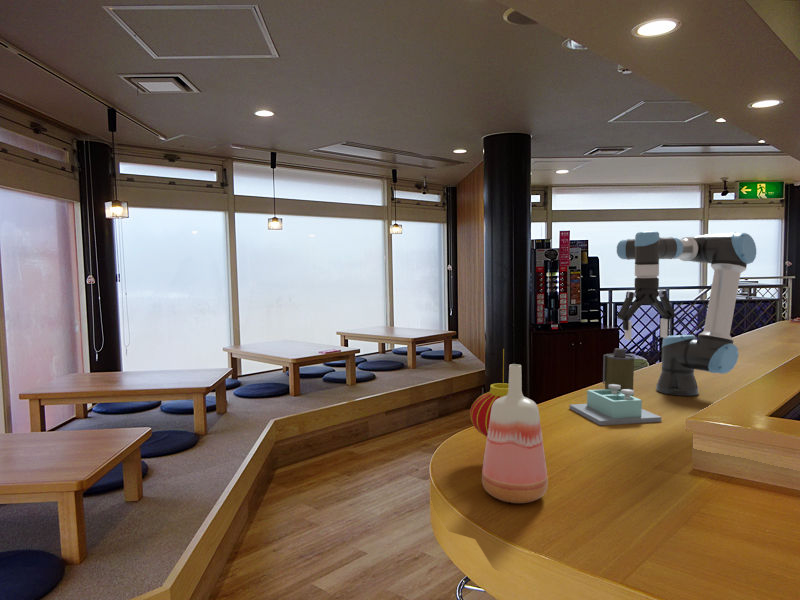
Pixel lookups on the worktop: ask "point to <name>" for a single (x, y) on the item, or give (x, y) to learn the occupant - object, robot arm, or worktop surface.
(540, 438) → the vase
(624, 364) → the canister
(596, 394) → the teal breeze block
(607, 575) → the worktop surface
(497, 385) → the lantern
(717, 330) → the robot arm
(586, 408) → the board
